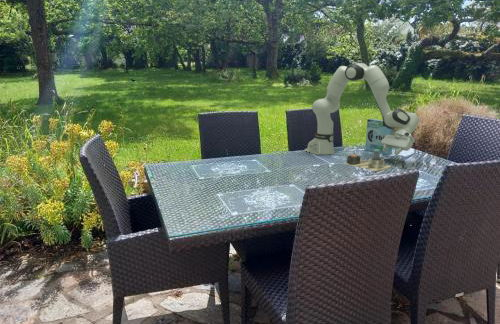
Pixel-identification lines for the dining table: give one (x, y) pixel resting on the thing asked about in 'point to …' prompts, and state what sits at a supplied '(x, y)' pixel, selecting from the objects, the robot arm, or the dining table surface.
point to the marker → (376, 154)
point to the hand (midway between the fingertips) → (389, 152)
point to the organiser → (367, 163)
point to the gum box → (377, 136)
